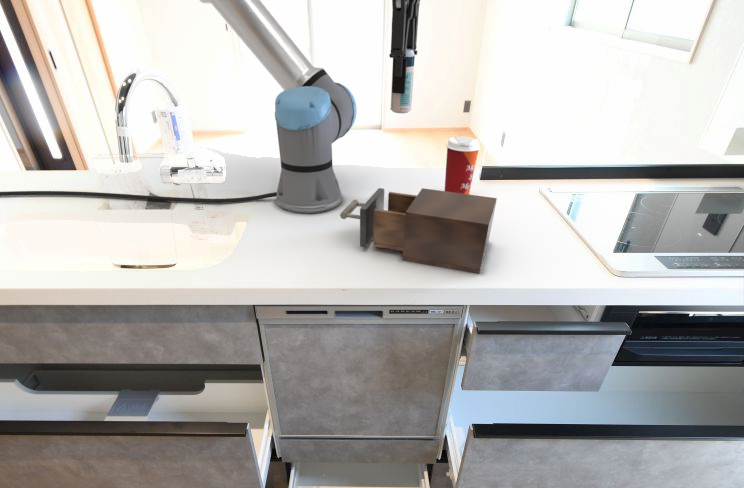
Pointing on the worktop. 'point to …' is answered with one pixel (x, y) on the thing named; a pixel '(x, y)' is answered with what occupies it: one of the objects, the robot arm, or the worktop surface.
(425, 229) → the cabinet
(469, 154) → the paper cup
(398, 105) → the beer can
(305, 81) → the robot arm
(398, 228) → the drawer
